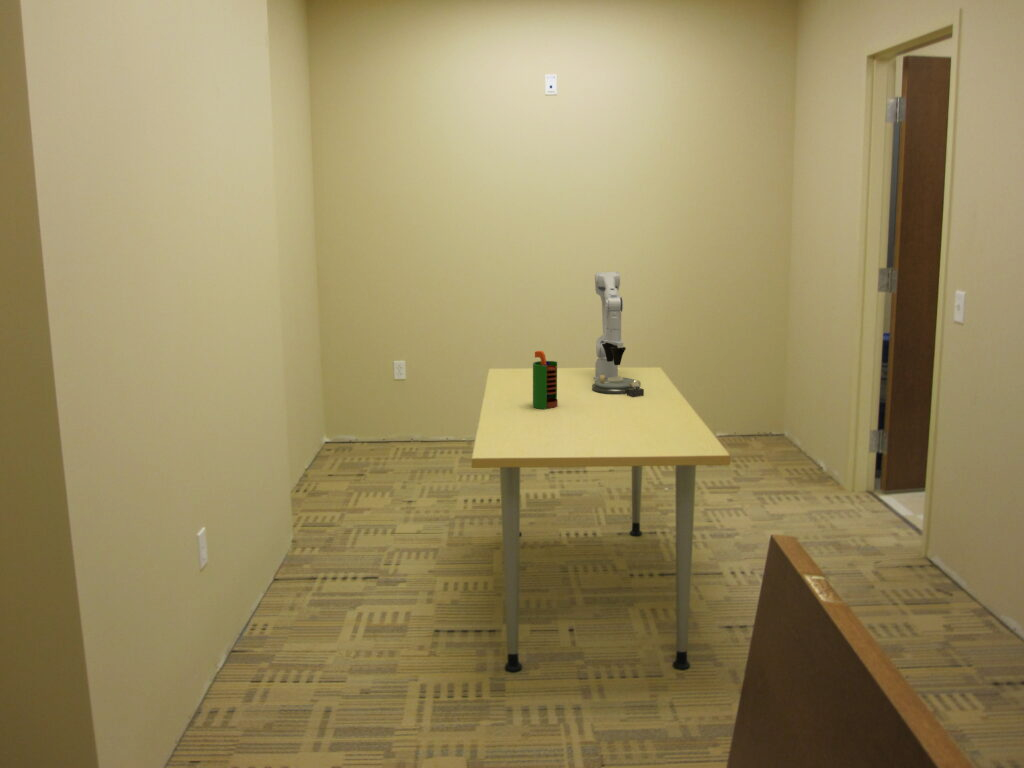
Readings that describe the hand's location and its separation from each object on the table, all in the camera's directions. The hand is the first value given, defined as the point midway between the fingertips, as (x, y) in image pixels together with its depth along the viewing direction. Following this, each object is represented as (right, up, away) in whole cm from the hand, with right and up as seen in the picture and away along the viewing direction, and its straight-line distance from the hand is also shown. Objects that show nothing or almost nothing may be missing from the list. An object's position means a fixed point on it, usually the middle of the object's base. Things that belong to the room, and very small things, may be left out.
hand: (613, 363), depth 347 cm
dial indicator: (+7, -12, -9) cm, 17 cm away
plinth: (+1, -10, +2) cm, 10 cm away
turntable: (+1, -8, +1) cm, 9 cm away
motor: (-27, -16, -23) cm, 39 cm away
